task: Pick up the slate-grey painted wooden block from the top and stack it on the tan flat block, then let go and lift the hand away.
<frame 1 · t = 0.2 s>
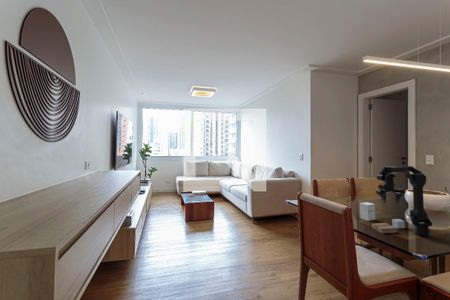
hand: (390, 202, 171), 14 cm above the table, tool pointing down, fingers open, 9 cm apart
slate block: (398, 227, 160), on the table
supplement box: (367, 219, 179), on the table
tan flat block: (384, 230, 156), on the table
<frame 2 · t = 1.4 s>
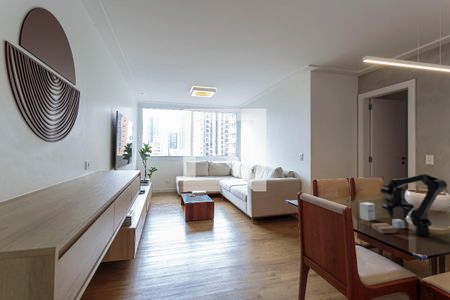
hand: (398, 218, 159), 6 cm above the table, tool pointing down, fingers open, 9 cm apart
nothing on the table moved.
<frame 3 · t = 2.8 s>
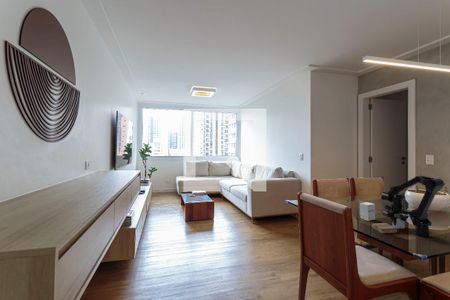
hand: (398, 225, 160), 1 cm above the table, tool pointing down, fingers closed on slate block, 5 cm apart
slate block: (398, 227, 160), on the table, touching gripper
everything else where it was.
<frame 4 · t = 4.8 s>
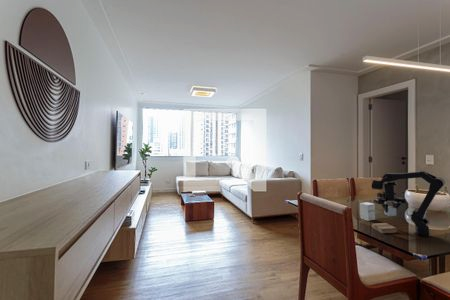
hand: (390, 212, 158), 11 cm above the table, tool pointing down, fingers closed on slate block, 5 cm apart
slate block: (390, 214, 158), point 10 cm above the table, touching gripper
everything else where it was.
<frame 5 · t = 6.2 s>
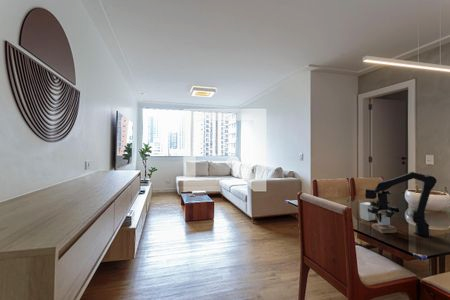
hand: (383, 222, 156), 6 cm above the table, tool pointing down, fingers closed on slate block, 5 cm apart
slate block: (383, 223, 156), point 4 cm above the table, touching gripper
everything else where it was.
when the fingers open (5 cm above the table, at t = 7.0 s): slate block drops 1 cm, resting on tan flat block.
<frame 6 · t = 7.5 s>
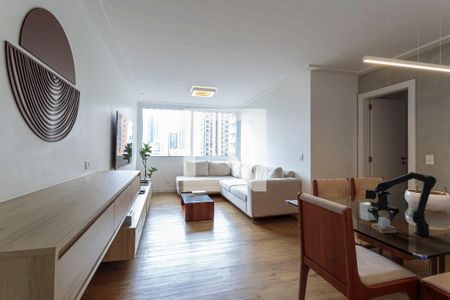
hand: (383, 222, 156), 5 cm above the table, tool pointing down, fingers open, 9 cm apart
slate block: (383, 225, 156), point 3 cm above the table, touching tan flat block
everything else where it was.
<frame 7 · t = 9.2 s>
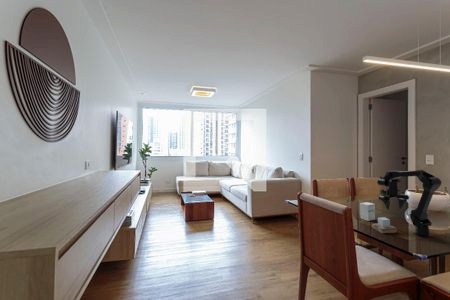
hand: (394, 209, 162), 12 cm above the table, tool pointing down, fingers open, 9 cm apart
nothing on the table moved.
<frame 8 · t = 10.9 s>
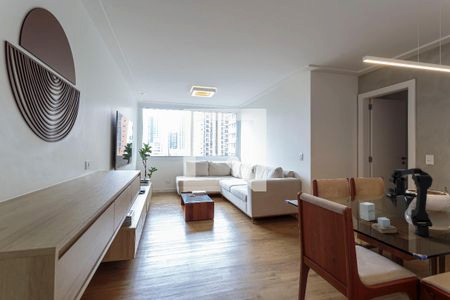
hand: (401, 207, 166), 12 cm above the table, tool pointing down, fingers open, 9 cm apart
nothing on the table moved.
at the end: slate block 0.1 cm off-centre on the tan flat block, point 3.0 cm above the tan flat block's base; slate block tilted 0°; the gripper is holding nothing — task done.
